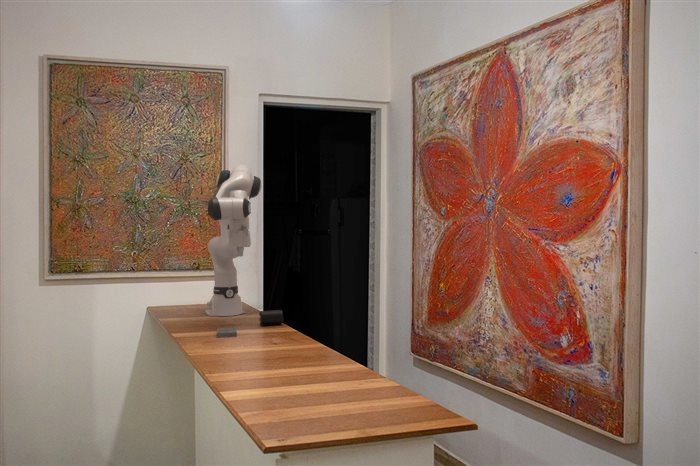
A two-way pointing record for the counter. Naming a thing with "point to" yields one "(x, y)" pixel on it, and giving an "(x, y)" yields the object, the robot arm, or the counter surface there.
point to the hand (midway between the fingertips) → (240, 256)
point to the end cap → (271, 317)
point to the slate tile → (226, 332)
